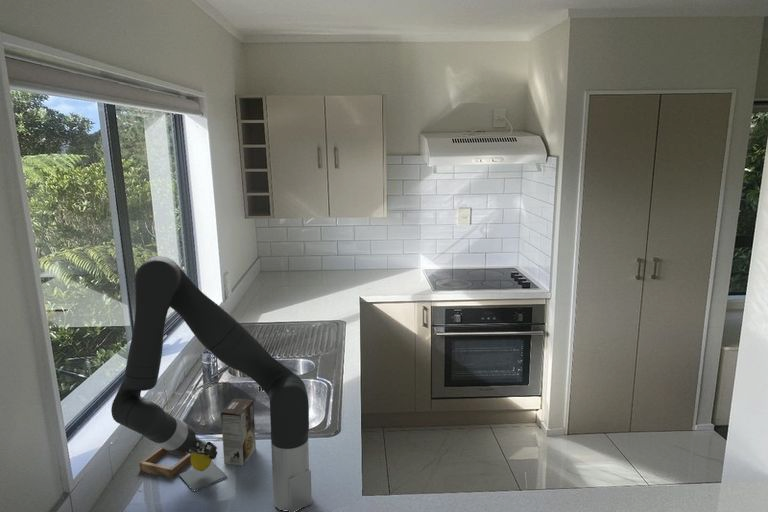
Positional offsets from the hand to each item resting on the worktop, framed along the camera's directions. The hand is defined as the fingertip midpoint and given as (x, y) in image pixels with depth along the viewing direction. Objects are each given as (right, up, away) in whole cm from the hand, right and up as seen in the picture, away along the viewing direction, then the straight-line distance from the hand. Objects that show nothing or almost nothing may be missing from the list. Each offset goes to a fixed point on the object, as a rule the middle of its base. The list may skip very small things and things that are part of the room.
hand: (205, 453), depth 149 cm
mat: (0, -6, 0) cm, 6 cm away
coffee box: (+7, -5, +10) cm, 13 cm away
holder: (-12, -5, +6) cm, 14 cm away
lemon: (-1, -5, -1) cm, 5 cm away
